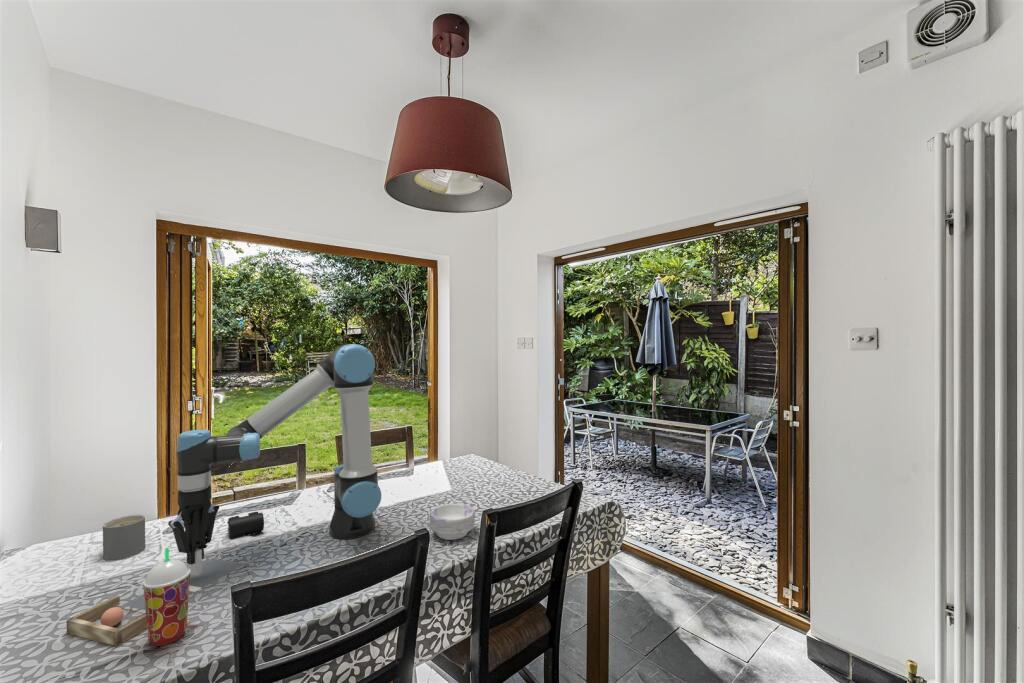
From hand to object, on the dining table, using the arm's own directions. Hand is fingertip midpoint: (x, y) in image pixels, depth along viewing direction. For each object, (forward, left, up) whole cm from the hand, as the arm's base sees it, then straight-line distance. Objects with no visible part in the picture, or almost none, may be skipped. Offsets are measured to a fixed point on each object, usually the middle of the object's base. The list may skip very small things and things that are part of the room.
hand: (195, 573), depth 121 cm
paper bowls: (-56, -46, -3) cm, 73 cm away
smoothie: (-16, +19, -3) cm, 25 cm away
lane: (0, +2, -2) cm, 3 cm away
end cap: (+12, -27, -3) cm, 30 cm away
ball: (+1, +20, -2) cm, 20 cm away
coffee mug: (+40, -8, -3) cm, 41 cm away
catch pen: (0, +19, -2) cm, 19 cm away
